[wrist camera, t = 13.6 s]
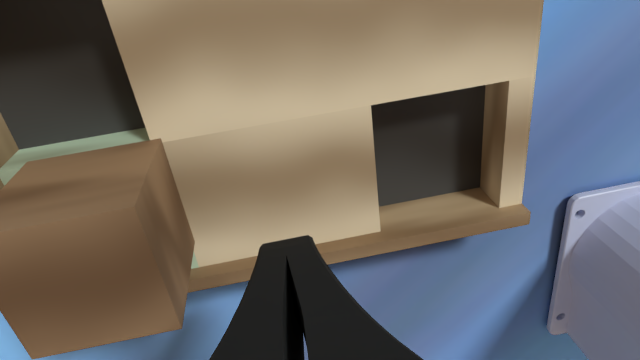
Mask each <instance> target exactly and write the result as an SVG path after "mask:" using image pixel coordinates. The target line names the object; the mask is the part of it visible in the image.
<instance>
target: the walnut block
mask: <svg viewBox="0 0 640 360" xmlns="http://www.w3.org/2000/svg"><path fill="white" fill-rule="evenodd" d="M194 245H195V240H194V237H193V234H192V231H191V228H190V225H189V222H188V219H187V216H186V213H185V210H184V207H183V204H182V201H181V198H180V195H179V192H178V189H177V186H176V183H175V180H174V177H173V174H172V171H171V168H170V165H169V161H168V158H167V155H166V152H165V149H164V146H163V143H162V140H161V138H159V139H154V140H148V141H142V142H136V143H131V144H125V145H119V146H114V147H108V148H102V149H97V150H91V151H85V152H80V153H74V154H68V155H62V156H57V157H51V158H45V159H40V160H34V161H28V162H26V163H25V164H24V165H23V167H22V168H21V169H20V170H19V171H18V172H17V173H16V174H15V175H14V176H13V177H12V178H11V179H10V181H9V182H8V183H7V184H6V185H5V186H4V187H3V188H2V189H1V190H0V311H1V313H2V314H3V316H4V317H5V319H6V320H7V322H8V323H9V325H10V326H11V328H12V329H13V331H14V332H15V334H16V336H17V337H18V339H19V340H20V342H21V343H22V345H23V346H24V348H25V349H26V351H27V352H28V354H29V355H30V357H31V358H32V359H36V358H41V357H46V356H51V355H56V354H61V353H66V352H71V351H75V350H80V349H85V348H90V347H95V346H100V345H105V344H110V343H114V342H119V341H124V340H129V339H134V338H139V337H144V336H149V335H153V334H158V333H163V332H168V331H173V330H178V329H182V325H183V319H184V312H185V305H186V299H187V292H188V285H189V279H190V272H191V265H192V258H193V252H194Z"/></svg>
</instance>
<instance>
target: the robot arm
mask: <svg viewBox="0 0 640 360" xmlns="http://www.w3.org/2000/svg"><path fill="white" fill-rule="evenodd" d="M577 211H579V212H577ZM576 212H577V213H576ZM547 330H548V331H549V332H550V333H551V334H552V335H559V334H563V333H568V335H569V336H570V337H571V338H572V340H573V341H574V342H575V343H576V345H577V346H578V347H579V348H580V349H581V351H582V352H583V353H584V354H585V356H586V357H587V358H588V359H589V360H640V181H638V182H633V183H628V184H623V185H618V186H613V187H608V188H603V189H598V190H593V191H588V192H583V193H578V194H575V195H573V196H572V197H571V198H570V199H569V201H568V203H567V208H566V214H565V220H564V226H563V232H562V238H561V244H560V250H559V256H558V262H557V268H556V274H555V280H554V286H553V292H552V297H551V303H550V309H549V315H548V321H547ZM303 333H304V337H305V341H306V345H307V351H308V359H309V360H423V359H422V358H421V357H419V356H418V355H417V354H415V353H414V352H413V351H411V350H410V349H409V348H407V347H406V346H405V345H403V344H402V343H401V342H399V341H398V340H397V339H396V338H394V337H393V336H392V335H391V334H390V333H389V332H387V331H386V330H385V329H384V328H383V327H382V326H381V325H380V324H379V323H377V322H376V321H375V320H374V319H373V318H372V317H371V316H370V315H369V314H368V313H367V312H366V311H365V310H364V309H363V308H362V307H361V306H360V305H359V304H358V303H357V302H356V300H355V299H354V298H353V297H352V296H351V295H350V294H349V293H348V291H347V290H346V289H345V288H344V287H343V285H342V284H341V283H340V282H339V280H338V279H337V278H336V276H335V275H334V274H333V272H332V271H331V270H330V268H329V267H328V265H327V264H326V262H325V261H324V259H323V258H322V256H321V254H320V253H319V251H318V249H317V247H316V245H315V243H314V240H313V238H312V237H310V236H309V235H306V236H300V237H295V238H290V239H285V240H280V241H275V242H270V243H264V244H262V245H261V247H260V248H259V252H258V256H257V260H256V263H255V266H254V269H253V272H252V275H251V277H250V280H249V283H248V285H247V287H246V290H245V292H244V295H243V297H242V300H241V302H240V304H239V306H238V308H237V310H236V312H235V314H234V316H233V318H232V320H231V322H230V324H229V326H228V328H227V330H226V332H225V334H224V336H223V337H222V339H221V341H220V343H219V344H218V346H217V348H216V349H215V351H214V353H213V354H212V356H211V358H210V359H209V360H304V342H303Z"/></svg>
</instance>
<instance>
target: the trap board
mask: <svg viewBox="0 0 640 360" xmlns="http://www.w3.org/2000/svg"><path fill="white" fill-rule="evenodd" d="M543 2H544V0H0V190H1V189H2V188H3V187H4V186H5V185H6V184H7V183H8V182H9V181H10V179H11V178H12V177H13V176H14V175H15V174H16V173H17V172H18V171H19V170H20V169H21V168H22V167H23V165H24V164H25V163H26V162H28V161H34V160H40V159H45V158H51V157H57V156H62V155H68V154H74V153H80V152H85V151H91V150H97V149H102V148H108V147H114V146H119V145H125V144H131V143H136V142H142V141H148V140H154V139H159V138H161V140H162V143H163V146H164V149H165V152H166V155H167V158H168V161H169V165H170V168H171V171H172V174H173V177H174V180H175V183H176V186H177V189H178V192H179V195H180V198H181V201H182V204H183V207H184V210H185V213H186V216H187V219H188V222H189V225H190V228H191V231H192V234H193V237H194V240H195V245H194V252H193V258H192V265H191V272H190V279H189V285H188V292H187V293H189V292H194V291H199V290H204V289H209V288H214V287H219V286H224V285H229V284H234V283H239V282H244V281H249V280H250V277H251V275H252V272H253V269H254V266H255V263H256V260H257V256H258V252H259V248H260V247H261V245H262V244H264V243H270V242H275V241H280V240H285V239H290V238H295V237H300V236H306V235H309V236H310V237H312V238H313V240H314V243H315V245H316V247H317V249H318V251H319V253H320V254H321V256H322V258H323V259H324V261H325V262H326V264H327V265H328V264H333V263H338V262H343V261H348V260H353V259H358V258H363V257H368V256H373V255H378V254H383V253H388V252H393V251H398V250H403V249H408V248H413V247H418V246H423V245H428V244H433V243H438V242H443V241H448V240H453V239H458V238H463V237H468V236H472V235H477V234H482V233H487V232H492V231H497V230H502V229H507V228H512V227H517V226H522V225H527V224H529V221H530V213H531V212H530V211H529V210H528V209H527V208H526V207H525V206H524V205H523V204H522V195H523V186H524V177H525V168H526V158H527V149H528V140H529V131H530V122H531V112H532V103H533V94H534V85H535V76H536V67H537V57H538V48H539V39H540V30H541V21H542V11H543Z"/></svg>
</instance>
